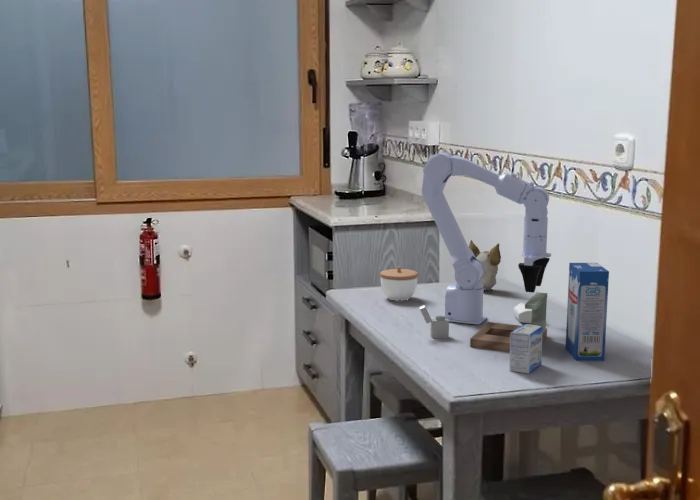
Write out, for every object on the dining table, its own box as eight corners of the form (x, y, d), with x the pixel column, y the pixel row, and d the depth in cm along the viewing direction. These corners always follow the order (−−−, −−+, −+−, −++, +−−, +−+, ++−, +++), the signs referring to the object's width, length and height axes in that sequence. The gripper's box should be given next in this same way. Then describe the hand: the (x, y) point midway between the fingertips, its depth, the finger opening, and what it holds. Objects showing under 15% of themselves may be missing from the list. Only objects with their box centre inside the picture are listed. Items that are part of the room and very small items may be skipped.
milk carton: (565, 347, 192) (569, 262, 188) (592, 347, 191) (597, 262, 188) (575, 360, 182) (579, 271, 178) (604, 361, 182) (609, 271, 178)
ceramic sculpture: (508, 290, 250) (510, 240, 247) (494, 295, 243) (496, 244, 241) (477, 285, 257) (478, 237, 254) (463, 290, 250) (464, 241, 247)
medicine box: (528, 375, 173) (530, 334, 171) (508, 371, 175) (509, 331, 173) (541, 364, 179) (543, 326, 178) (522, 361, 182) (523, 323, 180)
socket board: (470, 347, 192) (471, 300, 190) (487, 329, 207) (489, 286, 205) (532, 354, 186) (534, 306, 184) (546, 336, 201) (548, 292, 199)
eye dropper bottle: (535, 304, 211) (525, 294, 223) (516, 315, 212) (507, 304, 224) (543, 318, 212) (533, 307, 224) (524, 329, 212) (515, 318, 224)
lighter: (447, 335, 201) (447, 303, 200) (448, 337, 200) (449, 305, 198) (418, 337, 200) (418, 304, 199) (419, 339, 199) (420, 306, 197)
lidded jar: (420, 295, 243) (420, 264, 241) (414, 304, 233) (414, 271, 231) (383, 293, 246) (384, 262, 244) (376, 302, 235) (376, 269, 234)
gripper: (545, 241, 199) (543, 296, 201) (556, 232, 212) (554, 284, 214) (516, 239, 202) (514, 293, 204) (529, 230, 215) (527, 282, 217)
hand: (533, 288), depth 209 cm, fingers open, 7 cm apart
